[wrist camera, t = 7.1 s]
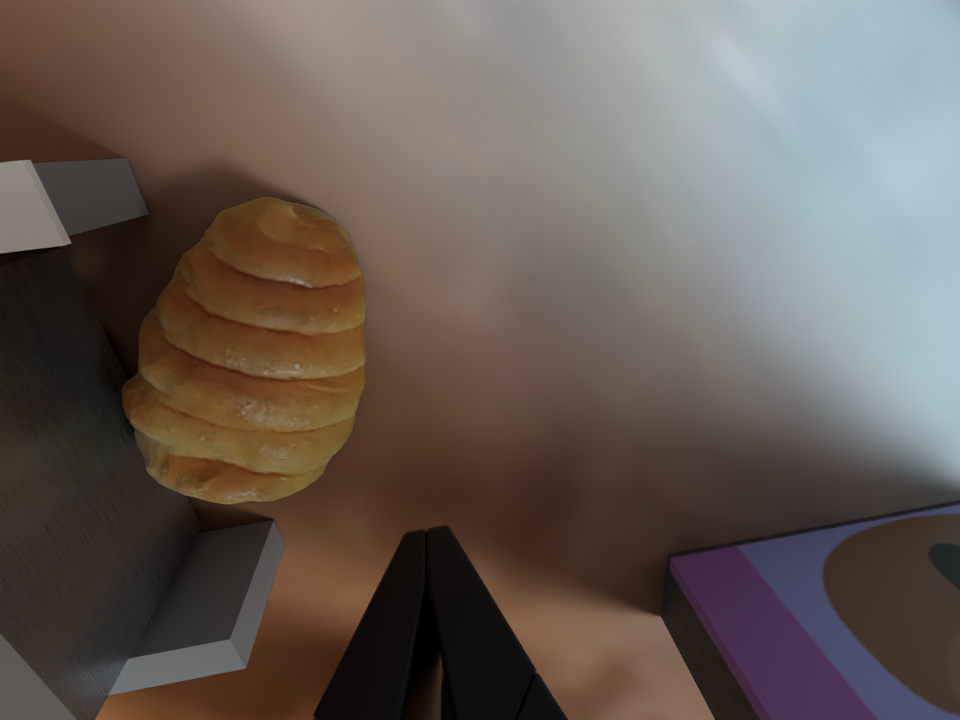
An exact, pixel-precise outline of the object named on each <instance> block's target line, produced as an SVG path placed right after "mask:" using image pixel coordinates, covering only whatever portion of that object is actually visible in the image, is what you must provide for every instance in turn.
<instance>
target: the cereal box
mask: <svg viewBox="0 0 960 720" xmlns="http://www.w3.org/2000/svg"><path fill="white" fill-rule="evenodd" d="M661 618H662V619H663V621H664V623H665V625H666V627H667V629H668V631H669V633H670V635H671V637H672V638H673V640H674V642H675V644H676V646H677V648H678V650H679V652H680V654H681V656H682V657H683V659H684V661H685V663H686V665H687V667H688V669H689V671H690V673H691V675H692V676H693V678H694V680H695V682H696V684H697V686H698V688H699V690H700V692H701V694H702V695H703V697H704V699H705V701H706V703H707V705H708V707H709V709H710V711H711V713H712V714H713V716H714V718H715V720H960V501H955V502H950V503H944V504H939V505H933V506H928V507H923V508H917V509H912V510H906V511H901V512H896V513H890V514H885V515H879V516H874V517H868V518H863V519H858V520H852V521H847V522H841V523H836V524H831V525H825V526H820V527H814V528H809V529H804V530H798V531H793V532H787V533H782V534H777V535H771V536H766V537H760V538H755V539H750V540H744V541H739V542H733V543H728V544H723V545H717V546H712V547H706V548H701V549H695V550H690V551H685V552H679V553H674V554H669V555H668V564H667V572H666V581H665V589H664V597H663V606H662V614H661Z"/></svg>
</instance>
